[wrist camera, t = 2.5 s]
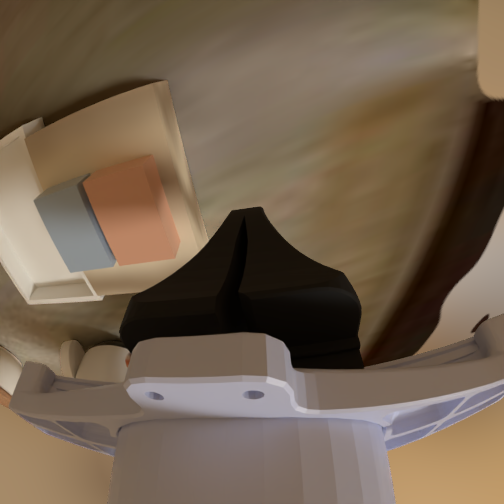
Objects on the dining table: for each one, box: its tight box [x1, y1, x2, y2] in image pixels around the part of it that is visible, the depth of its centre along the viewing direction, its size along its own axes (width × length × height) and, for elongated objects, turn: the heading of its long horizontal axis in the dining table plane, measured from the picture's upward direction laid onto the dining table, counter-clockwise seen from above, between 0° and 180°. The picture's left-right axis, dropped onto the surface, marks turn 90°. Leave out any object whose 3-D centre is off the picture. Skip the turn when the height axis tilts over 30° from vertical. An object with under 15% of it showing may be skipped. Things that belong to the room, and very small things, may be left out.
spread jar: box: [60, 340, 132, 383], centre depth 28 cm, size 12×11×12 cm
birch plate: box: [24, 80, 209, 296], centre depth 18 cm, size 14×10×3 cm
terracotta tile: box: [83, 155, 181, 266], centre depth 16 cm, size 6×4×2 cm, turn 9°
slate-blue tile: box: [33, 173, 117, 273], centre depth 17 cm, size 6×4×2 cm, turn 9°
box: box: [0, 117, 105, 304], centre depth 19 cm, size 16×11×2 cm
